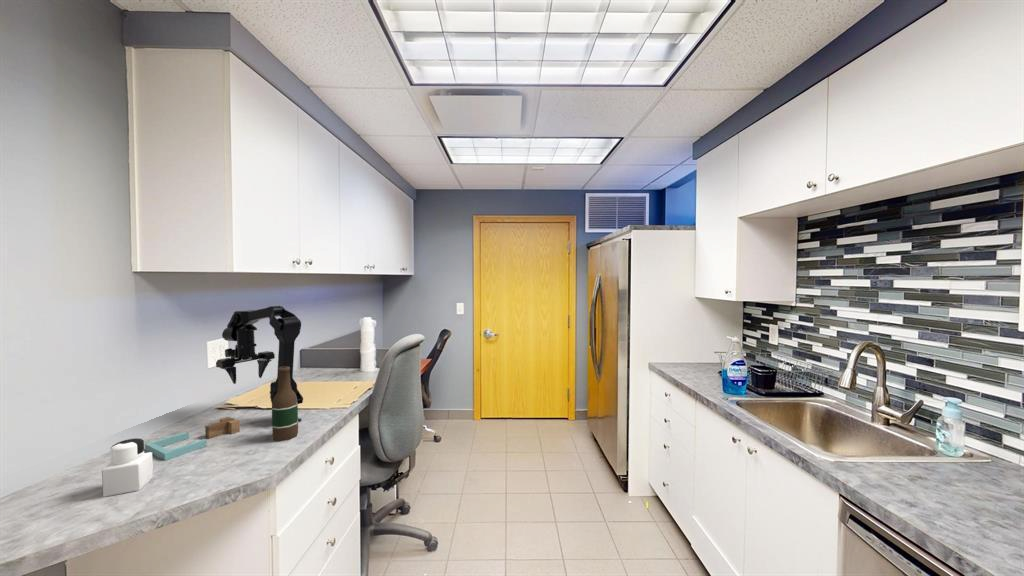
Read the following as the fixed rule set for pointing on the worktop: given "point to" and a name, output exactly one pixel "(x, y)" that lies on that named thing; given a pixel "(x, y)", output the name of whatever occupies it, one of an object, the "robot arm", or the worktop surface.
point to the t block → (222, 427)
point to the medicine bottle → (127, 468)
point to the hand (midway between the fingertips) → (247, 380)
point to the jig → (168, 454)
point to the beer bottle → (284, 408)
